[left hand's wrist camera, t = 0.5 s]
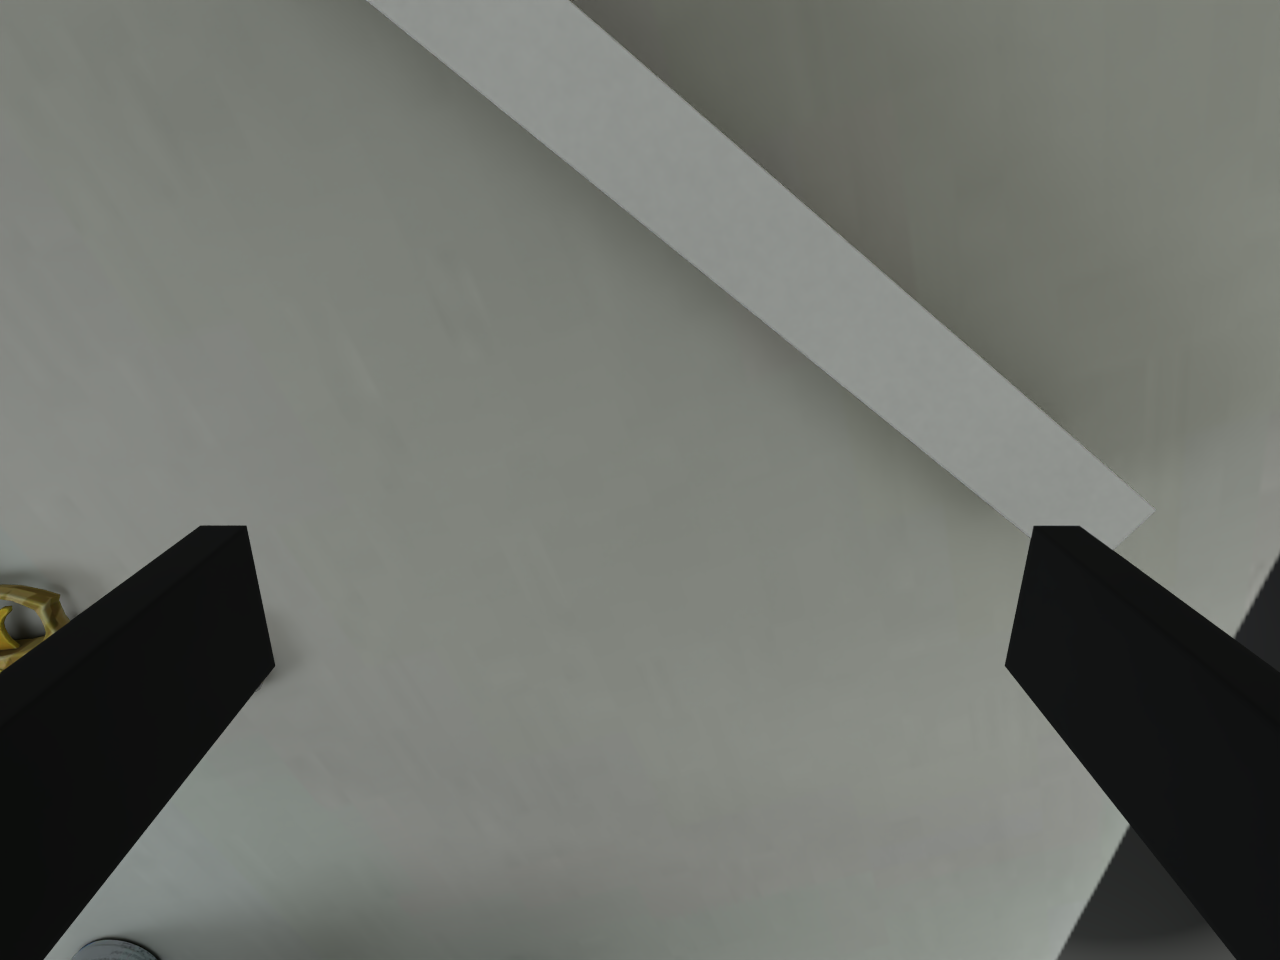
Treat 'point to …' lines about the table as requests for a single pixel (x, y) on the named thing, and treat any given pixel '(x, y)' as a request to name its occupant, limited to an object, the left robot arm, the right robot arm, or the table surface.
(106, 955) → the spray paint can
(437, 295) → the table surface
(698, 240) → the bar
